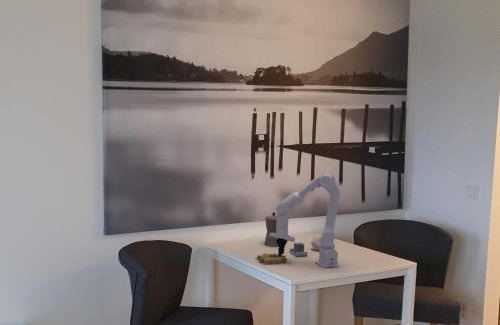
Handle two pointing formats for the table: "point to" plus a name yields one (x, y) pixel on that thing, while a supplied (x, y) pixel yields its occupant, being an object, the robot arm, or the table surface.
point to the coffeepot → (271, 230)
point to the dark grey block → (298, 247)
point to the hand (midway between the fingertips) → (281, 253)
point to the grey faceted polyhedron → (316, 242)
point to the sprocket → (272, 258)
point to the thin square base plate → (273, 263)
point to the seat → (298, 253)
